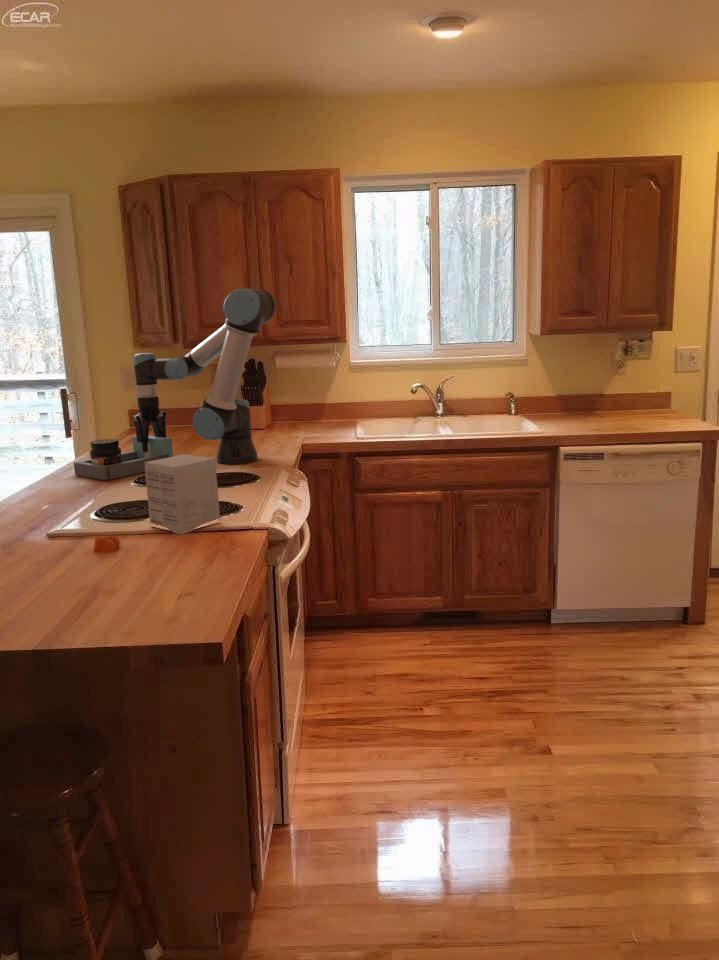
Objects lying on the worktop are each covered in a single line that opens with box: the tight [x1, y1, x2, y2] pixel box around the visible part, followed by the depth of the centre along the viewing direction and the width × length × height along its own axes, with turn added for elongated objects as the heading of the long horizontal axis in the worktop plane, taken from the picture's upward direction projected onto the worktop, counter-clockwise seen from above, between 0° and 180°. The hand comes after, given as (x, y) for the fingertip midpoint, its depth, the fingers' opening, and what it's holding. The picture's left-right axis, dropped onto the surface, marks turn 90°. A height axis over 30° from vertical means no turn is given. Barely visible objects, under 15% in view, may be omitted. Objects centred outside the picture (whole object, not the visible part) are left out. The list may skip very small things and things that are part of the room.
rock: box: [93, 535, 121, 554], centre depth 186 cm, size 12×12×4 cm
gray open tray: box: [73, 435, 174, 481], centre depth 279 cm, size 18×29×10 cm, turn 142°
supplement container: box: [89, 438, 122, 466], centre depth 273 cm, size 10×10×12 cm
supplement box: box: [144, 453, 221, 535], centre depth 203 cm, size 13×13×18 cm
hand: (153, 459), depth 289 cm, fingers closed on gray open tray, 4 cm apart
